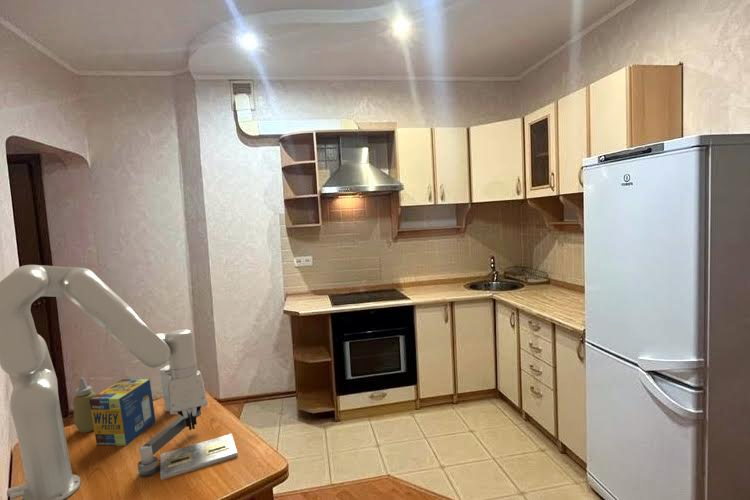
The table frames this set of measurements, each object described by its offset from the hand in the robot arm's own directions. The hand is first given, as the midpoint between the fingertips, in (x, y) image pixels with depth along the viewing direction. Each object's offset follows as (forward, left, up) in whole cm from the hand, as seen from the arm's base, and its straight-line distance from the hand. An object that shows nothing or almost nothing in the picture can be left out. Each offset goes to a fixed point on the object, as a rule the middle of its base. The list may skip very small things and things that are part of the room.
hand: (191, 427), depth 137 cm
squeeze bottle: (-31, +30, -5) cm, 43 cm away
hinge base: (-12, -10, -5) cm, 17 cm away
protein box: (-19, +19, -5) cm, 27 cm away
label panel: (+1, -10, -5) cm, 11 cm away
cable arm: (-5, -1, -1) cm, 6 cm away
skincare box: (-3, +30, -5) cm, 30 cm away
